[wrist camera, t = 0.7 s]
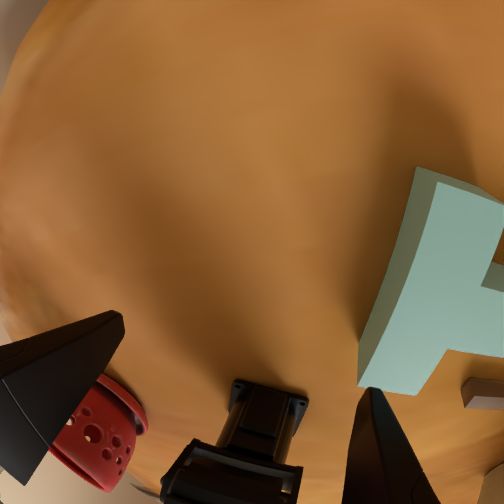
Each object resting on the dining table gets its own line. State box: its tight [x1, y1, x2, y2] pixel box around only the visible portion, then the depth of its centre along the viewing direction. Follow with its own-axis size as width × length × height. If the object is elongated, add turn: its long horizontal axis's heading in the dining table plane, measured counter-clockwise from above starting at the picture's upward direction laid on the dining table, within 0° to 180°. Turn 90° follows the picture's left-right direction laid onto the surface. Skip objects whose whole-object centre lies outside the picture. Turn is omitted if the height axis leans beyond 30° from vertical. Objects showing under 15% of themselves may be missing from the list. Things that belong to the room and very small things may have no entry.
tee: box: [357, 166, 504, 396], centre depth 14 cm, size 12×12×4 cm
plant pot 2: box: [49, 374, 148, 493], centre depth 28 cm, size 13×13×12 cm
